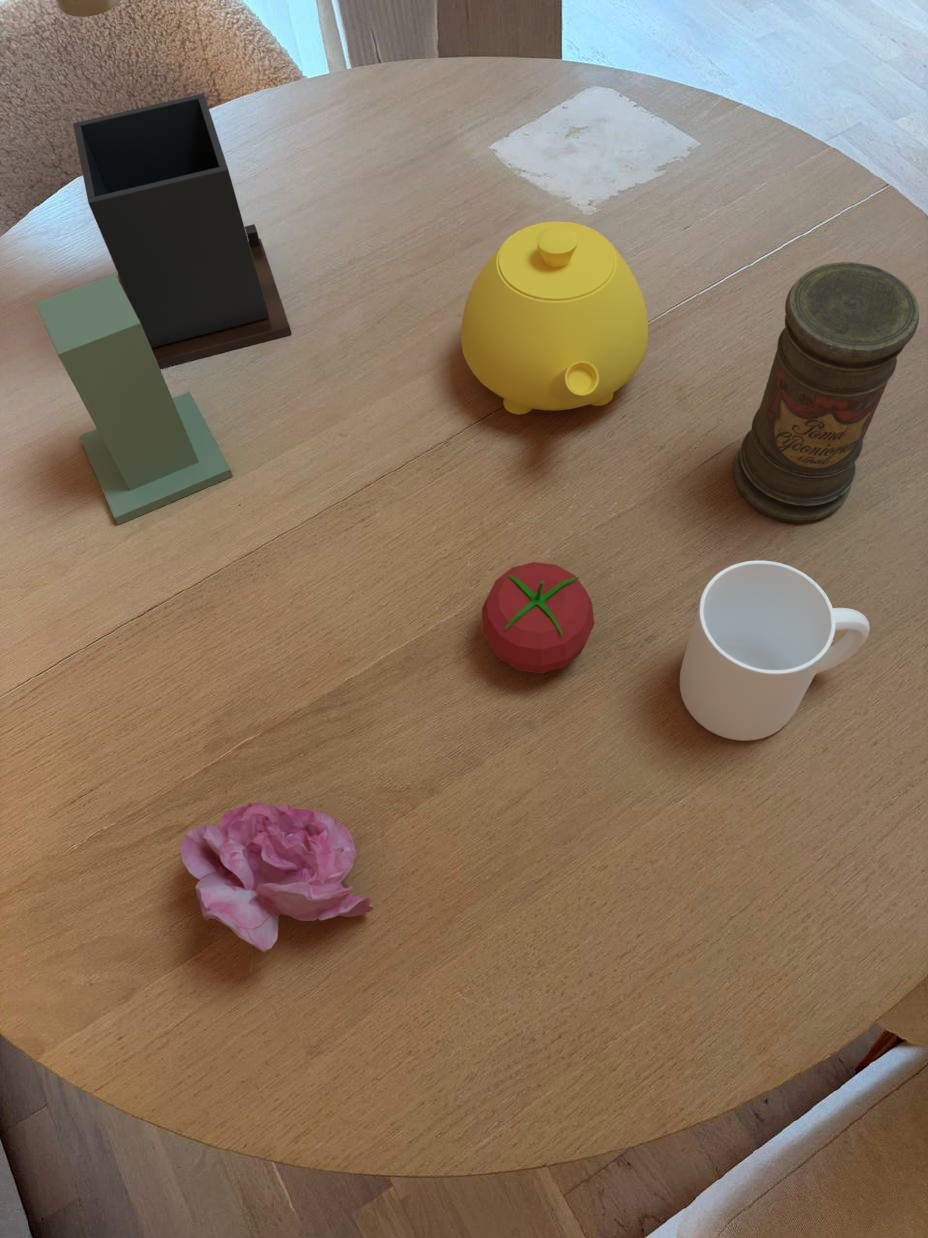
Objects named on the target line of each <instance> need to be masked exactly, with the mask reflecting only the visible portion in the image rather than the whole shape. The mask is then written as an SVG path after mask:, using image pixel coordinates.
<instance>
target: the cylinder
mask: <svg viewBox="0 0 928 1238" xmlns="http://www.w3.org/2000/svg"><path fill="white" fill-rule="evenodd" d="M120 1H121V0H75V1H74V0H56V4H57V5H58V8H59V10H60V11H61V12H62V13H63V14H65V15H68V16H71V17H76V18H88V17H94V16H97V15H101V14H105V13H106V12H108V11H111V10H112V9H113V8H115V7H116V6H117V5H118V4H119V3H120Z"/></svg>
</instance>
